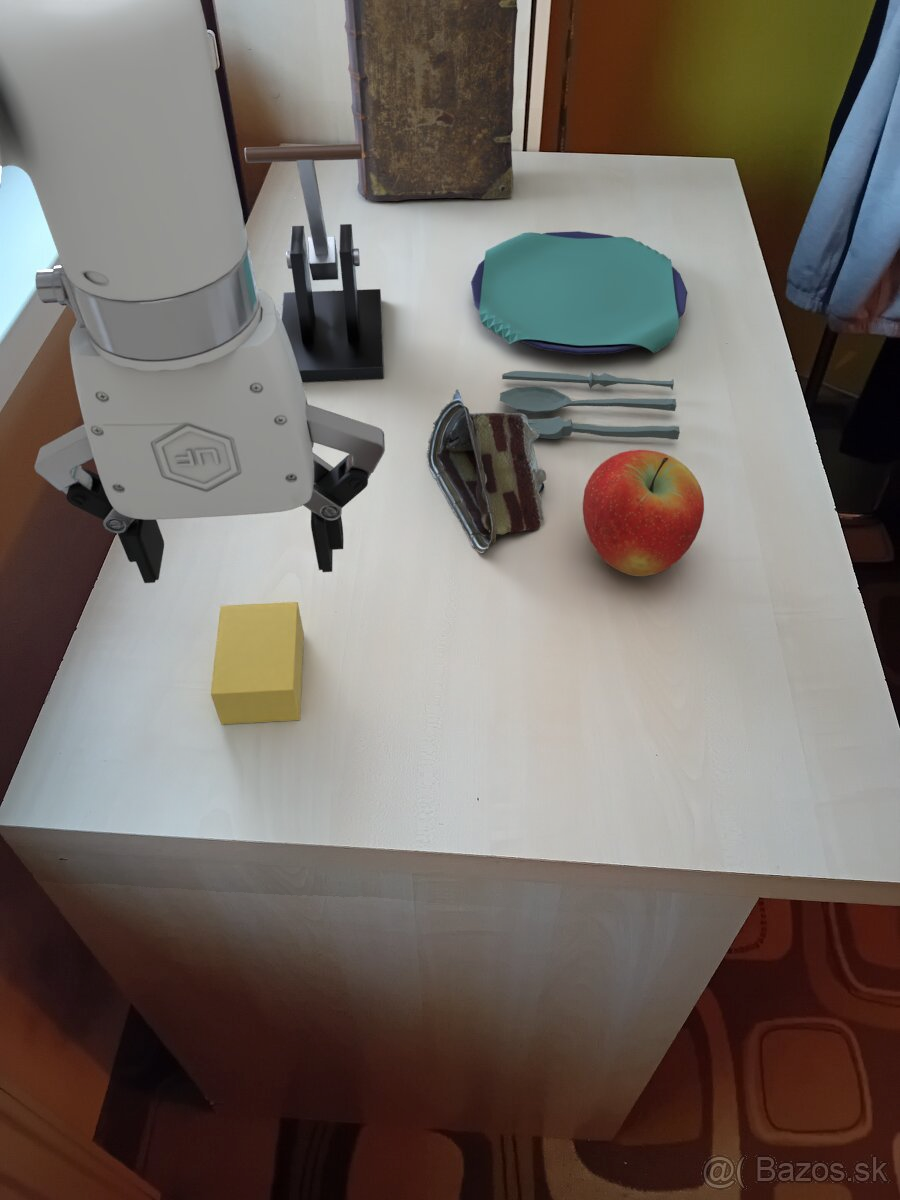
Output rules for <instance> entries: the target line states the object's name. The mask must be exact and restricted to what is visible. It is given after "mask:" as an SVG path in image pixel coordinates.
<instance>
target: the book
mask: <svg viewBox="0 0 900 1200" xmlns="http://www.w3.org/2000/svg"><path fill="white" fill-rule="evenodd" d="M518 11H519V9H518V0H344V12H345V14H344V15H345V22H344V30H345V33H346V38H347V39H346V40H347V52H348V67H347V70H348V74H349V78H350V87H351V88H350V89H351V101H352V103H351V107H350V108H351V113H352V115H353V125H354V126H353V127H354V136H355V142H354V144H361V149H362V159H356V163H357V176H358V177H357V179H358V183H357V192H358V194H360V195H361V196H362V197H363V198H364V199H365V200H367V199H368V200H371V201H375V202H376V201H378V202H387V201H391V202H392V201H393V202H397V201H398V202H399V201H404V200H405V201H406V200H422V199H423V200H424V199H425V200H427V199H444V198H445V199H457V198H463V199H464V198H465V199H482V200H488V199H489V200H491V199H506V198H511V196H512V195H513V193H514V172H513V155H512V147H513V145H512V144H513V143H512V134H513V131H514V126H513V124H514V123H513V122H514V120H513V117H514V116H513V111H514V110H513V109H514V97H515V96H514V95H515V83H514V82H515V80H514V79H515V54H516V53H515V52H516V36H517V20H518Z"/></svg>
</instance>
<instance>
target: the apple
mask: <svg viewBox="0 0 900 1200" xmlns="http://www.w3.org/2000/svg"><path fill="white" fill-rule="evenodd" d="M704 513H705V498H704V494H703V489H702V487H701V484H700V482H699V480H698V478H696V476H695V475H694V474H693V472H692V471H691V470H690V469H689V468H688V467H687V466H686V465H685V464H684V463H683V462H681V461H680V460H678V459H676V458H675V457H673V456H671V455H668V454H666V453H664V452H660V451H656V450H649V449H633V450H627V451H622V452H619V453H617V454H614V455H612V456H610V457H609V458H607V459H605V460H604V461H603V462H602V463H600V465H598V466H597V467H596V468H595V470H593V472H592V474H591V475H590V477H589V478H588V480H587V483H586V485H585V488H584V493H583V498H582V516H583V524H584V527H585V530H586V533H587V536H588V538H589V541H590V543H591V545H592V546H593V548H594V550H595V551H596V552H597V554H598V555H599V556H600V558H601V559H602V560H603V561H605V562H606V564H608V565H609V566H611V567H612V568H613V569H615V570H617V571H619V572H621V573H623V574H626V575H628V576H629V575H630V576H634V577H648V576H653V575H657V574H659V573H661V572H663V571H665V570H667V569H669V568H671V567H672V566H673V565H675V563H677V562H678V561H680V559H681V558H683V556H684V555H685V554H686V553H687V552H688V551H689V549H690V548H691V546H692V545H693V543H694V542H695V540H696V538H697V536H698V533H699V531H700V529H701V526H702V522H703V518H704Z"/></svg>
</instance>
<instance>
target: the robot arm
mask: <svg viewBox="0 0 900 1200" xmlns="http://www.w3.org/2000/svg"><path fill="white" fill-rule="evenodd" d="M219 91H220V90H219V85H218V80H217V74H216V69H215V64H214V59H213V54H212V49H211V43H210V38H209V33H208V28H207V23H206V18H205V14H204V10H203V5H202V1H201V0H0V187H1V185H2V169H3V168H4V167H8V166H10V167H17V168H19V169H20V170H23V172H25V173H26V174H27V176H28V177H29V179H30V182H31V183H32V185H33V188H34V190H35V194H36V195H37V199H38V202H39V205H40V207H41V210H42V212H43V216H44V218H45V220H46V224H47V226H48V229H49V232H50V235H51V238H52V241H53V243H54V246H55V249H56V251H57V254H58V258H59V260H60V263H61V265H55V266H54V267H53V269H41V270H37V271H36V274H35V288H36V292H37V296H38V298H39V300H40V301H41V303H43V304H55V303H56V304H57V303H58V304H59V305H61V306H67V307H68V308H70V310H71V311H72V312H73V314H74V317H75V319H76V320H75V324H74V326H73V327H72V329H71V331H70V334H69V339H68V342H69V343H68V344H69V354H70V360H71V369H72V373H73V379H74V384H75V389H76V394H77V398H78V403H79V408H80V412H81V416H82V420H83V424H82V425H80V426H78V427H76V428H74V429H72V430H71V431H69V432H66V433H65V434H63V435H60V436H59V437H58V438H56V439H54V440H52V441H50V442H48V443H46V444H45V445H43V446H41V447H40V448H39V451H38V454H37V457H36V460H35V462H34V467H33V469H34V471H35V472H36V473H37V474H38V475H39V476H40V477H42V478H43V479H44V480H45V481H46V482H47V483H49V484H50V485H51V486H53V487H54V488H55V489H56V490H57V491H58V492H62V493H64V495H66V500H67V502H68V503H69V504H71V505H72V506H74V507H76V508H78V509H80V510H82V511H84V512H86V513H88V514H90V515H92V516H94V517H96V518H98V519H101V520H102V521H103V523H102V524H103V525H102V526H103V527H104V529H105V530H106V531H108V532H110V533H112V534H117V536H118V538H119V540H120V542H121V545H122V548H123V550H124V552H125V555H126V558H127V560H128V561H129V562H130V563H136V566H137V568H138V571H139V573H140V576H141V578H142V581H143V583H144V584H154V583H156V582H157V581H158V580H159V579H160V573H161V568H162V561H163V556H164V550H165V541H164V537H163V534H162V531H161V529H160V526H159V523H158V521H157V520H177V519H178V520H179V519H181V520H182V519H197V518H215V517H230V516H231V517H232V516H233V517H234V516H246V515H261V514H273V513H282V512H287V511H292V510H295V509H298V508H300V507H302V506H303V507H305V508H306V509H308V510H309V511H310V530H311V534H312V540H313V546H314V550H315V557H316V561H317V566H318V571H321V572H322V573H333V554H334V553H333V552H334V551H336V550H344V544H345V543H344V539H345V538H344V526H343V521H342V510H343V508H344V507H345V506H347V505H348V504H349V503H350V502H351V501H352V500H353V499H354V498H356V497H357V496H358V495H359V494H360V493H362V492H363V491H364V490H365V489H366V488H367V487H368V485H369V479H370V477H371V475H372V474H373V473H374V472H375V470H376V468H377V466H378V465H379V463H380V461H381V459H382V457H383V456H384V454H385V451H386V446H385V445H386V444H385V443H386V441H385V433H384V431H383V429H382V428H380V427H377V426H374V425H371V424H368V423H366V422H363V421H359V420H356V419H353V418H351V417H348V416H345V415H342V414H338V413H335V412H332V411H330V410H327V409H324V408H320V407H317V406H314V405H311V404H309V403H308V398H307V394H306V391H305V387H304V384H303V383H304V382H302V379H301V376H300V372H299V369H298V366H297V362H296V359H295V355H294V352H293V349H292V346H291V343H290V340H289V338H288V335H287V332H286V330H285V327H284V325H283V322H282V320H281V319H282V316H281V315H280V313H279V310H278V309H277V307H276V305H275V303H274V300H273V298H272V297H271V295H270V294H269V293H268V292H267V291H266V290H264V289H261V288H258V287H257V282H256V276H255V272H254V266H253V261H252V255H251V251H250V246H249V241H248V235H247V229H246V224H245V220H244V215H243V209H242V203H241V199H240V198H241V197H240V194H239V193H240V192H239V188H238V183H237V179H236V174H235V173H236V172H235V168H234V162H233V159H232V153H231V148H230V142H229V138H228V137H229V136H228V131H227V127H226V122H225V116H224V110H223V106H222V101H221V96H220V92H219ZM314 444H317V445H321V446H324V447H327V448H330V449H334V450H337V451H340V452H343V453H346V454H347V455H346V456H345V457H344V458H343V459H342V460H340V461H339V463H337V464H336V465H335V466H332V465H331V464H330V463H328V461H327V462H326V461H325V459H322V457H320V456H319V455H317V454H316V453H314V451H313V448H314ZM92 460H93V461H94V464H95V467H96V471H97V473H96V472H94V471H92V470H90V469H87V468H82V466H83V465H84V464H86V463H87V462H90V461H92Z"/></svg>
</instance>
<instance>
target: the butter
mask: <svg viewBox="0 0 900 1200" xmlns="http://www.w3.org/2000/svg"><path fill="white" fill-rule="evenodd" d="M219 608H220V609H219V616H218V626H217V634H216V643H215V651H214V652H215V653H214V660H213V670H212V679H211V687H210V697H211V700H212V702H213V705H214V708H215V711H216V714H217V717H218V720H219V723H220V725H238V724H254V723H275V722H290V721H291V722H292V721H300V720H301V714H302V713H301V711H302V709H301V708H302V687H303V663H304V661H303V660H304V639H305V637H304V635H305V632H304V627H303V621H302V617H301V612H300V607H299V602H298V601H285V602H265V603H263V602H262V603H243V604H223V605H220V607H219Z"/></svg>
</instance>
